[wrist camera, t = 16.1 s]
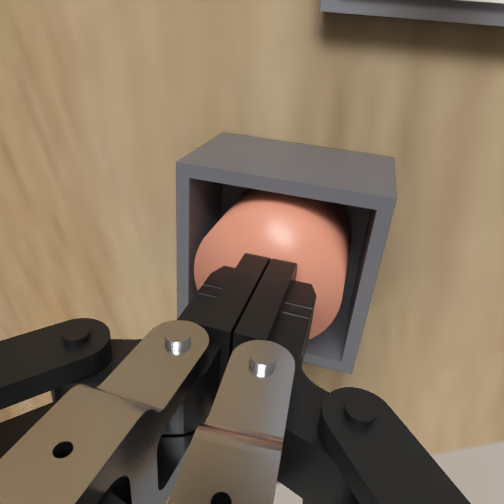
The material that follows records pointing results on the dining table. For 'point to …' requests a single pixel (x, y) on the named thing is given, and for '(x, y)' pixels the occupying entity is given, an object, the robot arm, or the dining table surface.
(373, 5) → the picture board
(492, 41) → the dining table surface
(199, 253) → the button
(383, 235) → the button housing
